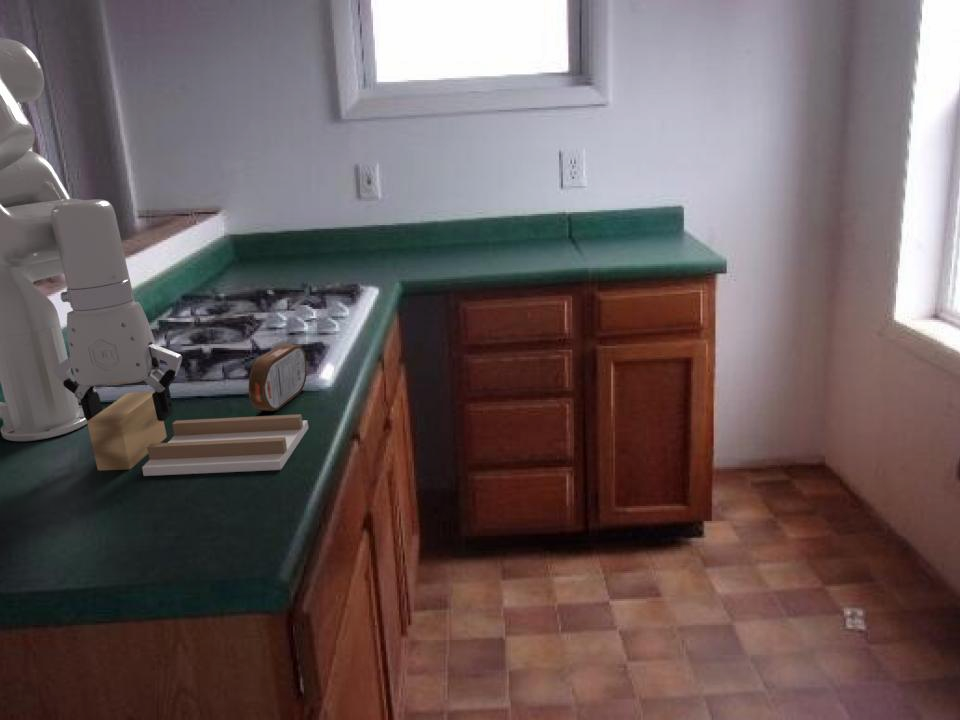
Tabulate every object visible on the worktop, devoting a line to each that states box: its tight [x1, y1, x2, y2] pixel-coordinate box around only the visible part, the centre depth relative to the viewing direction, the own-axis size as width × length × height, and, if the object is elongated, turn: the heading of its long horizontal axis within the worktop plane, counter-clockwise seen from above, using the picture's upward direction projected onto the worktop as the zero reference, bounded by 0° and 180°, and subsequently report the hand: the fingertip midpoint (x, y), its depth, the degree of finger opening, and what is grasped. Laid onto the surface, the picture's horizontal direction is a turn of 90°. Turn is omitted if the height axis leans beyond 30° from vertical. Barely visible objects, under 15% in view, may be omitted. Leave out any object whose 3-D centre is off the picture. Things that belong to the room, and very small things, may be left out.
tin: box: [248, 343, 308, 412], centre depth 133 cm, size 15×3×8 cm, turn 166°
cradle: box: [141, 413, 309, 477], centre depth 116 cm, size 18×14×3 cm
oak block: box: [86, 391, 168, 471], centre depth 117 cm, size 4×11×7 cm, turn 175°
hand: (130, 420), depth 116 cm, fingers open, 9 cm apart
